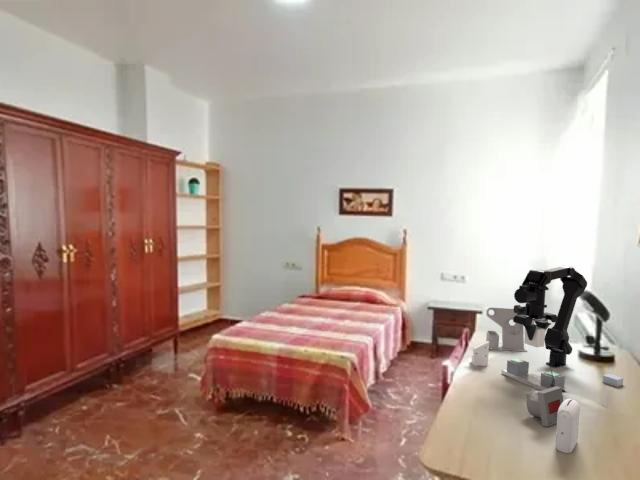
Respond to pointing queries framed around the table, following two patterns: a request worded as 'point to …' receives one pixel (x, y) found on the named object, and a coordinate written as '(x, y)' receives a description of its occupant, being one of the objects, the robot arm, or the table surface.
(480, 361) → the white angled block
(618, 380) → the relay block
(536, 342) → the block
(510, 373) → the rail
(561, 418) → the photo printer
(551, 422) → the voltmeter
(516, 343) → the grey bracket with hole
